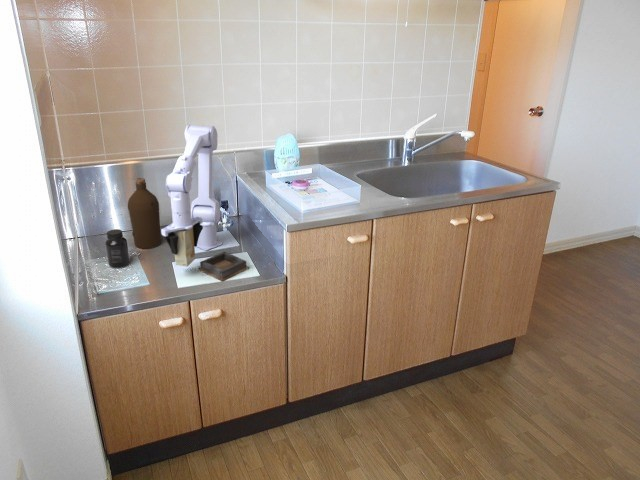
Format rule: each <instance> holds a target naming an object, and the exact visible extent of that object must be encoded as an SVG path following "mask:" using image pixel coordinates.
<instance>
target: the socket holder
mask: <svg viewBox="0 0 640 480" xmlns="http://www.w3.org/2000/svg"><path fill="white" fill-rule="evenodd" d="M199 263H200V265H199V267H198V268H197V270H198V269H199V270H201V271H203V272H202V273H204V272H205V273H204V274H206V275H208V276H210V277H212V278H214V279H216V280H218V281H220V282H224V281H226V280H228V279H229V280H230V279H231V278H233V277H234V276H237V275H239V274H241V273H243V272H245V271H247V270H249V269H250V267H249V266H248V265H247V260H245V259H243V258H240V257H238V256H236V255H234V254H232V253H229V252H226V251H222V252H220V253H218V254H216V255H213V256H210V257H208V258H206V259H204V260H201V261H200V262H199ZM199 270H198V271H199ZM201 271H200V272H201Z"/></svg>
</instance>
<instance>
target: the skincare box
mask: <svg viewBox="0 0 640 480" xmlns="http://www.w3.org/2000/svg"><path fill="white" fill-rule="evenodd" d="M192 227H193V226H192ZM174 234H175V235H176V236H178V243H177V247H178V254H176V255H175V254H174V261H175V262H174V264H175V266H182V267H189V265H190V264H192V263H193V262H194V261H195V260H196V252H195V251H196V250H195V248H196V247H195V246H194V234H193V228H191V229H183V230H178V231H175V232H174Z"/></svg>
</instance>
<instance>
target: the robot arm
mask: <svg viewBox="0 0 640 480" xmlns="http://www.w3.org/2000/svg"><path fill="white" fill-rule="evenodd" d="M217 131H218V130H217V129H216V127H215V126H209V125H207V126H205V125H192V124H188V125H186V126H185V129H184V139H185V149H184V150H183V151H184V152H183V155H180V156H179V157H177V158H178V159H176V160H177V161H176V163H175V166H174V168H173V170H172V172H171V173H170V174H167V176H166V178H165V189H166V191H167V195H168V196H167V197H169V198H170V208H171V217H172V218H171V219H172V222H171V224H169V225H167V226H165V227H164V228H160V233H161V236H162V237H163V238H164V239H165V240H166V242H167V244H168V246H169V248H170V250H171V253H172V254H173V255H174V256H175V255H176V254H178V247H177V243H178V236H176V235H175V234H174V232H175V231H178V230H183V229H191V228H193V234H194V248H198V249H200V250H203V251H209V250H212V249H213V248H214V249H215V248H216V247H219V246H222V245H223V242H221V241H218V236H217V235H218V234H217V232H218V231H217V223H219V222H220V220H221V214H222V213H221V207H220V206H221V205H220V202H219V201H218V200H217V199H216V198H215V197H214V196H213V151H217V148H218V132H217ZM197 155H198V158H197V159H198V160H197V163H198V165H196V164H197V163H196V160H195V159H196V157H197ZM196 166H197V168H198V169H197V173H198V174H197V175H198V176H197V181H198V183H197V184H198V185H197V190H198V193H197V197H196V198H194V199H193V200H190V191H191V189H192V183H193V182H192V181H193V177H192V176H193V173H194V171H195V168H196ZM192 226H193V227H192Z"/></svg>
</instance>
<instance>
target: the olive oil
mask: <svg viewBox="0 0 640 480" xmlns="http://www.w3.org/2000/svg"><path fill="white" fill-rule="evenodd" d="M135 186H136V187H135V188H136V189H135V191H134V192H133V193H132V194H131V196H130V197H129V198H128V201H127V210H128V215H129V216H128V217H129V219H130V225H131V226H130V227H131V231H132V237H133V241H134V242H133V244H134V246H135V247H136V248H138V249H142V250H143V249H145V250H147V249H155V248H156V247H158V246H160V245H161V244H162V233H161V221H160V220H161V219H160V218H161V216H160V204H159V200H158V198H157V196H156V195H154V193H152V192H151V191H150V190H148V189H147V183H146V179H145V177H138V178H135Z"/></svg>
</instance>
